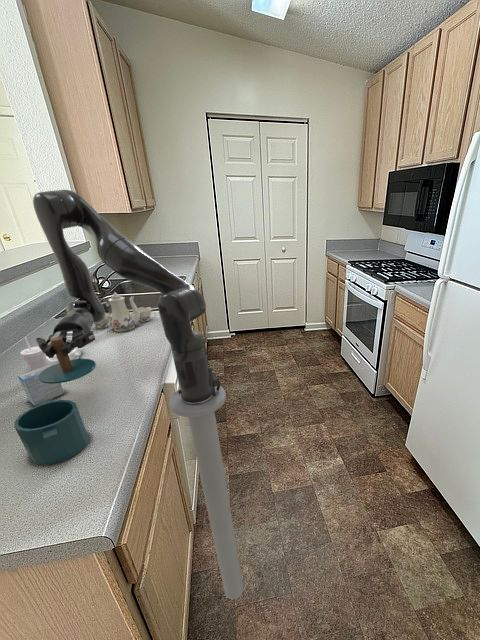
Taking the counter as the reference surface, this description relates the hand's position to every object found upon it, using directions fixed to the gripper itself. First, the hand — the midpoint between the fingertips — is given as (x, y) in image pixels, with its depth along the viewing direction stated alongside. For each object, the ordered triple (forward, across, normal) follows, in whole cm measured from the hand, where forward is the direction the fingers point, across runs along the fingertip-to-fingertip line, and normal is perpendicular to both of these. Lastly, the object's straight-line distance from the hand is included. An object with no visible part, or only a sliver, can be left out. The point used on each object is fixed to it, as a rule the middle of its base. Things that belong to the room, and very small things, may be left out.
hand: (56, 353), depth 79 cm
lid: (-3, 0, +6) cm, 7 cm away
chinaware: (-72, +3, +19) cm, 74 cm away
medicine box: (-15, -12, +19) cm, 27 cm away
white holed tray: (-44, -15, +19) cm, 50 cm away
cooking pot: (+11, -2, +19) cm, 22 cm away
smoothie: (-30, -17, +19) cm, 40 cm away
